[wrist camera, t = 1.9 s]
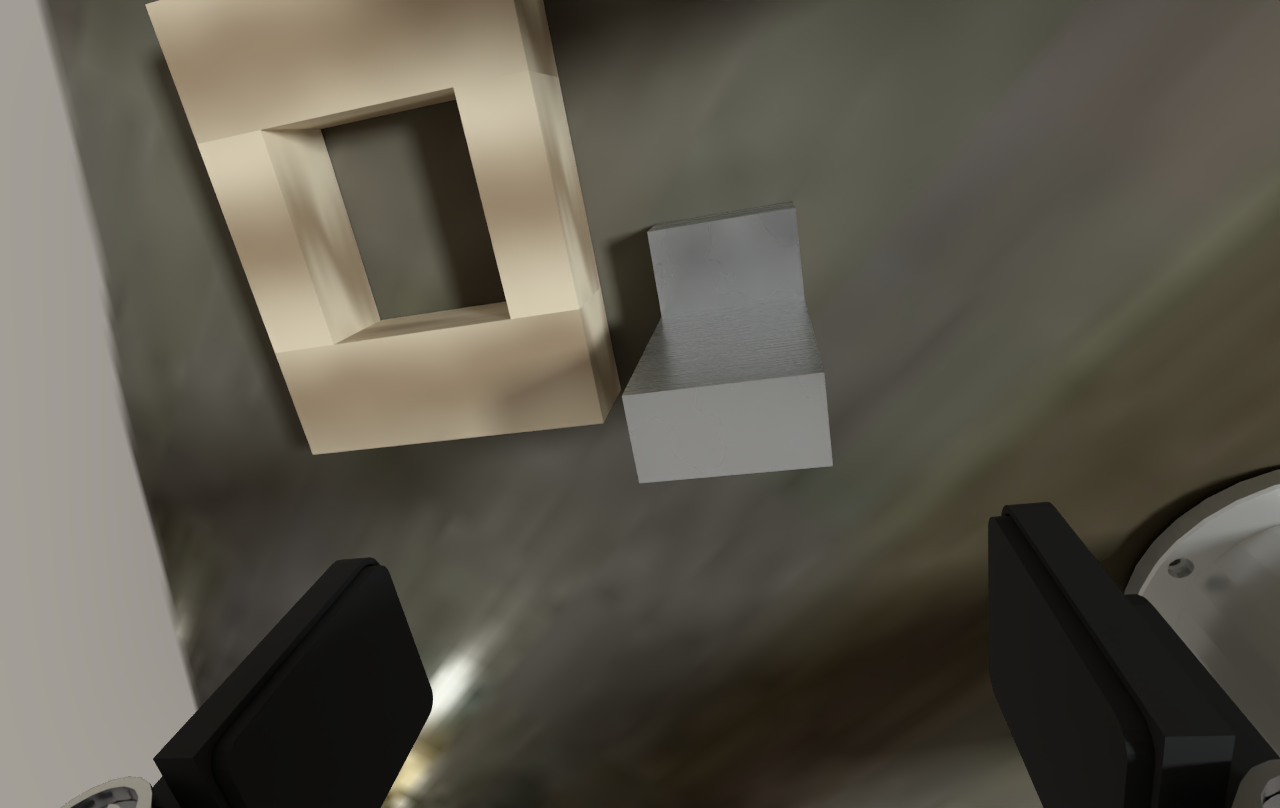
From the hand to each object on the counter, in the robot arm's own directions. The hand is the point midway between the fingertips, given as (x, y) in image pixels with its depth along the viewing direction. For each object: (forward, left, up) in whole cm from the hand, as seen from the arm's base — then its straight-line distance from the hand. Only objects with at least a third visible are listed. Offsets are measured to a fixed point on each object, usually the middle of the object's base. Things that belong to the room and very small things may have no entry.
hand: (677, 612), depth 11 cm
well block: (+6, +11, -18) cm, 21 cm away
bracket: (+1, 0, -18) cm, 18 cm away
